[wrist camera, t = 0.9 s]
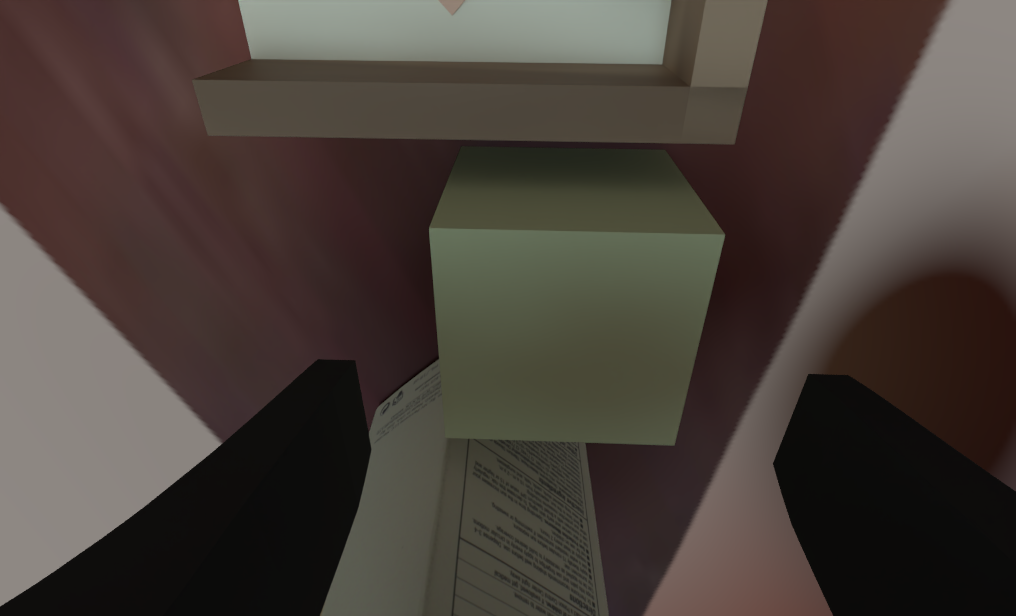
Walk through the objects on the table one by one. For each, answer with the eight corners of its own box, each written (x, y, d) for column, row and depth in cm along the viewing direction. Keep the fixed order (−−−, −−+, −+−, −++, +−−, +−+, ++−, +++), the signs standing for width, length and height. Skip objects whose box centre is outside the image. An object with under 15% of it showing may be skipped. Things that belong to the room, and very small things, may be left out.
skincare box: (373, 404, 18) (164, 988, 8) (464, 334, 16) (350, 960, 6) (505, 500, 21) (478, 1043, 10) (596, 447, 19) (674, 1035, 9)
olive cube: (636, 318, 16) (674, 445, 12) (468, 314, 16) (445, 437, 12) (664, 148, 13) (725, 234, 9) (461, 145, 13) (428, 228, 9)
